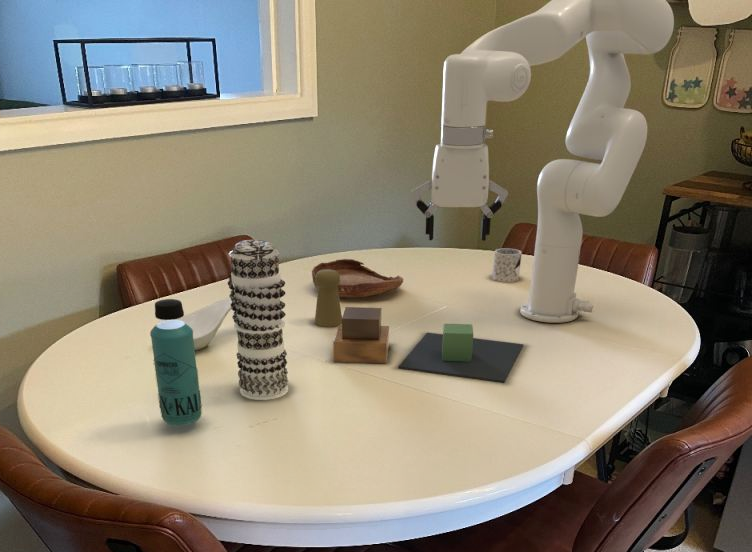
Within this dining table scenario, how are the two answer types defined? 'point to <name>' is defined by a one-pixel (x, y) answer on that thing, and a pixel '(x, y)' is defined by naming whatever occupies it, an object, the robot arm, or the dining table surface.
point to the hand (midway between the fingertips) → (456, 238)
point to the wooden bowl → (357, 278)
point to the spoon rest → (207, 321)
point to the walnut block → (361, 323)
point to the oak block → (361, 348)
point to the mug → (506, 265)
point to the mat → (485, 364)
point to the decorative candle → (258, 319)
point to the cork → (328, 299)
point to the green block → (457, 342)
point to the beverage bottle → (175, 365)
